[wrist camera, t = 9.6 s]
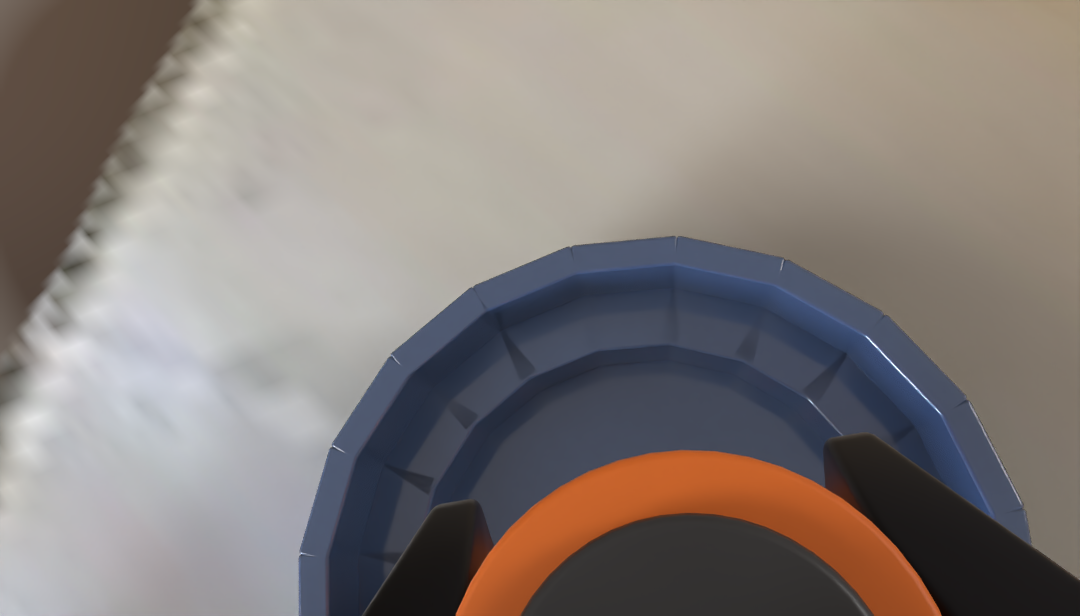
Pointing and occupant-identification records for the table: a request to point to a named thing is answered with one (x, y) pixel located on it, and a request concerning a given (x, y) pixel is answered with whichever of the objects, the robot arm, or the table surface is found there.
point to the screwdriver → (695, 547)
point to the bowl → (625, 396)
